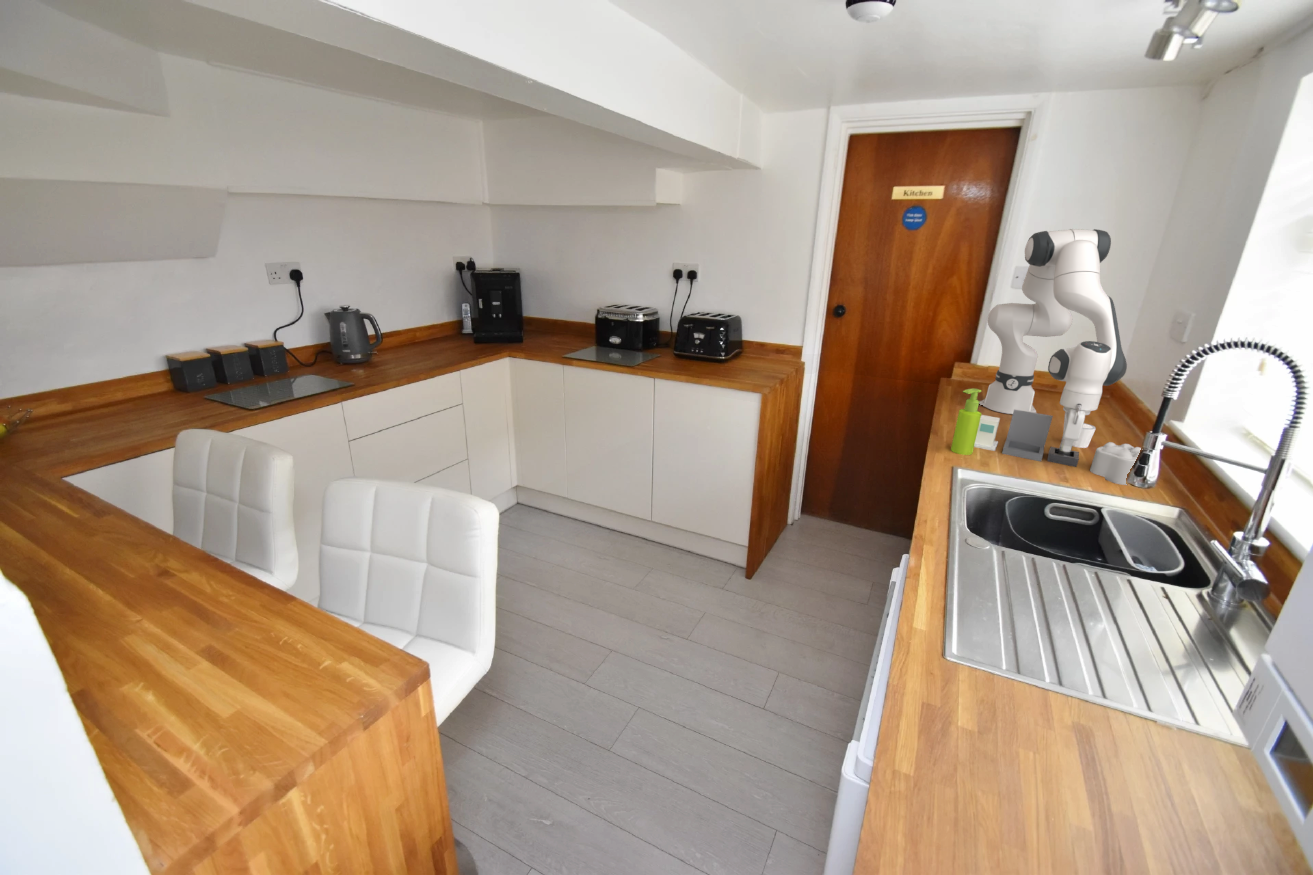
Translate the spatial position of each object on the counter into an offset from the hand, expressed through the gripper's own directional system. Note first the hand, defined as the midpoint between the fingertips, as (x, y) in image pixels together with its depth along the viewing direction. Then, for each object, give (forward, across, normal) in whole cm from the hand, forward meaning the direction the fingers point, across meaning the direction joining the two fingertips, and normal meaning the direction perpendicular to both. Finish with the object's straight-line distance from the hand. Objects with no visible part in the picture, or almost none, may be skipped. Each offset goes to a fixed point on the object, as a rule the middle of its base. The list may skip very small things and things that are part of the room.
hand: (1066, 446), depth 166 cm
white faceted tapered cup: (+5, +19, -4) cm, 20 cm away
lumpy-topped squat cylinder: (+5, -2, -13) cm, 14 cm away
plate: (+5, 0, +20) cm, 21 cm away
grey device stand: (+5, 0, +10) cm, 11 cm away
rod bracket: (+5, 0, 0) cm, 5 cm away
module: (+4, 0, +20) cm, 21 cm away
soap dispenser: (+5, -11, +26) cm, 28 cm away
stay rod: (+5, 0, 0) cm, 5 cm away
